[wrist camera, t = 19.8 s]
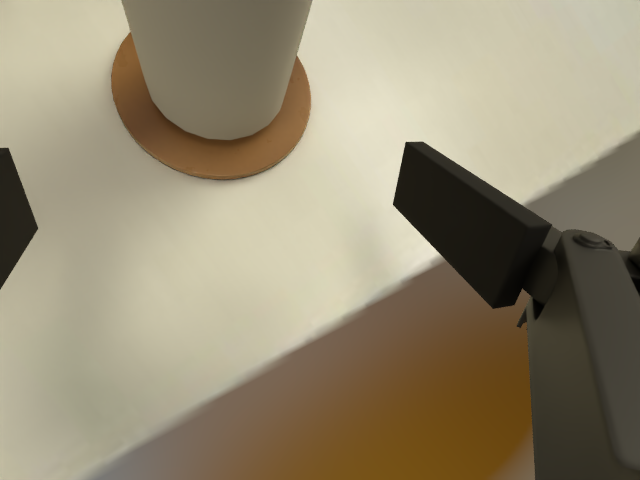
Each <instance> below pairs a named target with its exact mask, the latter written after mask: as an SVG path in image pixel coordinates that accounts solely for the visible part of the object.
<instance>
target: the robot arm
mask: <svg viewBox="0 0 640 480" xmlns="http://www.w3.org/2000/svg"><path fill="white" fill-rule="evenodd" d="M393 205H394V206H395V207H396V209H397V210H398V211H399V212H400V213H401V214H402V215H403V216H404V217H405V218H406V219H407V220H408V221H409V222H410V223H411V224H412V225H413V226H414V227H415V228H416V229H417V230H418V231H419V232H420V233H421V235H422V236H423V237H424V238H425V239H426V240H427V241H428V242H429V243H430V244H431V245H432V246H433V247H434V248H435V249H436V250H437V251H438V252H439V253H440V254H441V255H442V256H443V257H444V258H445V259H446V260H447V262H448V263H449V264H450V265H452V267H453V268H455V270H456V271H457V272H458V273H459V274H460V275H461V276H462V277H463V278H464V279H465V280H466V281H467V282H468V283H469V284H470V285H471V286H472V287H473V288H474V290H475V291H477V293H478V294H479V295H480V296H481V297H482V298H483V299H484V300H485V301H486V302H487V303H488V304H489V305H490V306H491V307H492V308H493V309H494V308H500V307H506V306H512V305H514V304H515V303H516V300H517V298H518V296H519V294H520V292H521V290H522V288H523V289H524V290H525V291H526V292H527V293H528V294H529V295H531V297H530V299H529V301H528V303H527V305H526V307H525V309H524V311H523V313H522V315H521V317H520V319H519V321H518V325H517V327H520V328H521V326H522V324H523V323H525V322H527V333H528V352H529V370H530V389H531V408H532V425H533V444H534V463H535V480H640V238H639V240H638V241H637V243H636V244H635V246H634V248H633V249H632V251H631V252H630V251H620V250H618V249H617V248H616V247H615V246H614V244H612V243H611V242H610V241H609V240H607V239H605V238H603V237H600V236H599V235H597V234H594V233H591V232H587V231H582V230H566V231H563V232H560V231H559V230H557V229H556V228H554V227H553V226H552V224H550V223H549V222H547V221H546V220H544V219H542V218H541V217H539V216H538V215H536V214H535V213H533V212H532V211H530V210H528V209H527V208H525V207H524V206H522V205H521V204H519V203H517V202H516V201H514V200H513V199H511V198H510V197H508V196H507V195H505V194H503V193H502V192H500V191H499V190H497V189H496V188H494V187H493V186H491V185H489V184H488V183H486V182H485V181H483V180H482V179H480V178H479V177H477V176H475V175H474V174H472V173H471V172H469V171H468V170H466V169H464V168H463V167H461V166H460V165H458V164H457V163H455V162H454V161H452V160H450V159H449V158H447V157H446V156H444V155H443V154H441V153H440V152H438V151H436V150H435V149H433V148H432V147H430V146H429V145H427V144H425V143H424V142H406V143H405V148H404V153H403V158H402V163H401V168H400V173H399V177H398V182H397V187H396V192H395V197H394V202H393ZM37 230H38V227H37V224H36V221H35V218H34V216H33V213H32V210H31V208H30V205H29V202H28V199H27V197H26V194H25V191H24V189H23V186H22V183H21V181H20V178H19V175H18V172H17V170H16V167H15V164H14V162H13V159H12V156H11V153H10V151H9V148H0V289H1V287H2V286H3V284H4V283H5V281H6V279H7V278H8V276H9V275H10V273H11V271H12V270H13V268H14V267H15V265H16V263H17V262H18V260H19V259H20V257H21V255H22V254H23V252H24V250H25V249H26V247H27V246H28V244H29V242H30V241H31V239H32V238H33V236H34V234H35V233H36V231H37Z"/></svg>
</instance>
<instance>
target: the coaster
mask: <svg viewBox="0 0 640 480" xmlns="http://www.w3.org/2000/svg"><path fill="white" fill-rule="evenodd" d="M111 82H112V93H113V99H114V102H115V105H116V108H117V111H118V113H119V116H120V117H121V119H122V121H123V123H124V125H125V127H126V129H127V130H128V131H129V133H130V134H131V136H132V137H133V138H134V139H135V140H136V142H137V143H138V144H139V145H140V146H141V147H142V148H143V149H144V150H146V151H147V152H148V153H149V154H150V155H152V156H153V157H154V158H156V159H157V160H159V161H160V162H162V163H164V164H165V165H167V166H169V167H172V168H174V169H176V170H178V171H181V172H184V173H186V174H189V175H193V176H198V177H202V178H210V179H235V178H243V177H247V176H251V175H254V174H257V173H260V172H262V171H265V170H267V169H269V168H270V167H272V166H274V165H276V164H277V163H279V162H280V161H281V160H282V159H284V158H285V157H286V156H287V155H288V154H289V153H290V152H291V151H292V150H293V149H294V147H295V146H296V145H297V143H298V142H299V140H300V139H301V137H302V135H303V133H304V131H305V128H306V125H307V122H308V119H309V115H310V109H311V93H310V86H309V82H308V78H307V75H306V72H305V70H304V68H303V65H302V63H301V62H300V60H299V58H298V56H297V55H296V59H295V62H294V66H293V69H292V73H291V76H290V80H289V83H288V86H287V90H286V93H285V97H284V100H283V103H282V106H281V109H280V111H279V113H278V114H277V115H276V116H275V118H274V119H273V120H272V121H271V123H270V124H269V125H268V126H266V127H264V128H263V129H261V130H259V131H258V132H256V133H255V134H253V135H250V136H246V137H242V138H238V139H234V140H219V139H207V138H204V137H201V136H198V135H195V134H192V133H189V132H186V131H184V130H183V129H181V128H180V127H179V126H177V125H176V124H174V123H173V122H171V121H170V120H168V119H167V118H166V117H165V116H164V115H163V113H162V112H161V111H160V110H159V108H158V107H157V106H156V105H155V103H154V102H153V101H152V99H151V96H150V93H149V90H148V88H147V85H146V82H145V79H144V76H143V72H142V69H141V65H140V62H139V58H138V55H137V52H136V48H135V45H134V41H133V38H132V34H131V32H130V33H129V34H128V36H127V37H126V38H125V40H124V41H123V42H122V44H121V46H120V48H119V50H118V52H117V54H116V57H115V60H114V63H113V69H112V75H111Z"/></svg>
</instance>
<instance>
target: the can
mask: <svg viewBox="0 0 640 480" xmlns="http://www.w3.org/2000/svg"><path fill="white" fill-rule="evenodd" d="M122 4H123V7H124V10H125V14H126V17H127V21H128V24H129V28H130V31H131V34H132V38H133V41H134V45H135V48H136V52H137V55H138V58H139V62H140V65H141V69H142V72H143V76H144V79H145V82H146V85H147V88H148V90H149V93H150V96H151V99H152V101H153V102H154V103H155V105H156V106H157V107H158V108H159V110H160V111H161V112H162V113H163V115H164V116H165V117H166V118H167V119H168V120H170V121H171V122H173V123H174V124H176V125H177V126H179V127H180V128H181V129H183V130H184V131H186V132H189V133H192V134H195V135H198V136H201V137H204V138H207V139H219V140H234V139H238V138H242V137H246V136H250V135H253V134H255V133H256V132H258V131H259V130H261V129H263V128H264V127H266V126H268V125H269V124H270V123H271V121H272V120H273V119H274V118H275V116H276V115H277V114H278V113H279V111H280V109H281V106H282V103H283V100H284V97H285V93H286V90H287V86H288V83H289V80H290V76H291V73H292V69H293V66H294V62H295V59H296V55H297V52H298V48H299V45H300V42H301V38H302V35H303V31H304V28H305V24H306V21H307V17H308V14H309V10H310V7H311V4H312V0H122Z"/></svg>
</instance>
